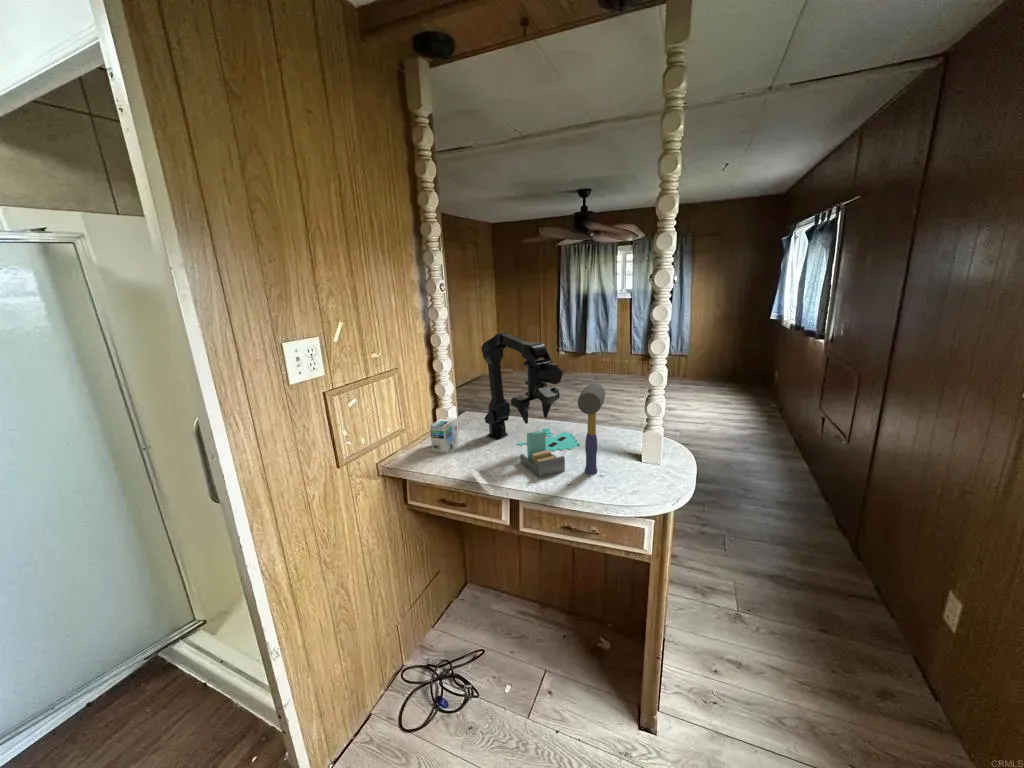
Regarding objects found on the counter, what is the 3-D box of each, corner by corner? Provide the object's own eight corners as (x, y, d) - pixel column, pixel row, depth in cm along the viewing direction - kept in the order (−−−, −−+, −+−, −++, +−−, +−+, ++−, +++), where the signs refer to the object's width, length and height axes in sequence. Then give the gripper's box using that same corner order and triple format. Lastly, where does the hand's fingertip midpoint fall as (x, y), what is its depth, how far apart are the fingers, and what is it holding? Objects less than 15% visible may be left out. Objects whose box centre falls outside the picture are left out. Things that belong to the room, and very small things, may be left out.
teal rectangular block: (527, 463, 134) (526, 433, 132) (542, 459, 137) (542, 430, 134) (530, 465, 133) (529, 435, 130) (545, 461, 135) (545, 431, 132)
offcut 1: (532, 467, 131) (532, 453, 130) (548, 463, 134) (547, 449, 133) (535, 469, 130) (535, 455, 128) (551, 465, 132) (550, 452, 131)
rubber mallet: (600, 486, 120) (601, 392, 113) (575, 483, 123) (576, 391, 115) (605, 468, 132) (606, 382, 124) (582, 466, 134) (583, 381, 127)
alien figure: (516, 449, 151) (561, 461, 140) (516, 443, 151) (561, 455, 139) (544, 432, 167) (587, 442, 155) (544, 427, 166) (587, 437, 154)
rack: (518, 465, 137) (518, 448, 135) (543, 459, 141) (543, 442, 139) (538, 482, 124) (538, 463, 123) (565, 475, 129) (565, 456, 127)
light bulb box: (447, 453, 149) (444, 427, 146) (431, 452, 151) (428, 425, 148) (459, 443, 159) (457, 417, 156) (444, 441, 161) (442, 416, 158)
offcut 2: (537, 471, 129) (536, 459, 128) (552, 466, 131) (552, 455, 130) (540, 473, 127) (539, 462, 126) (555, 469, 130) (555, 458, 129)
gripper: (530, 388, 127) (530, 433, 131) (570, 378, 138) (570, 420, 142) (509, 382, 136) (510, 424, 140) (549, 373, 147) (549, 412, 151)
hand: (536, 420), depth 143 cm, fingers open, 9 cm apart
